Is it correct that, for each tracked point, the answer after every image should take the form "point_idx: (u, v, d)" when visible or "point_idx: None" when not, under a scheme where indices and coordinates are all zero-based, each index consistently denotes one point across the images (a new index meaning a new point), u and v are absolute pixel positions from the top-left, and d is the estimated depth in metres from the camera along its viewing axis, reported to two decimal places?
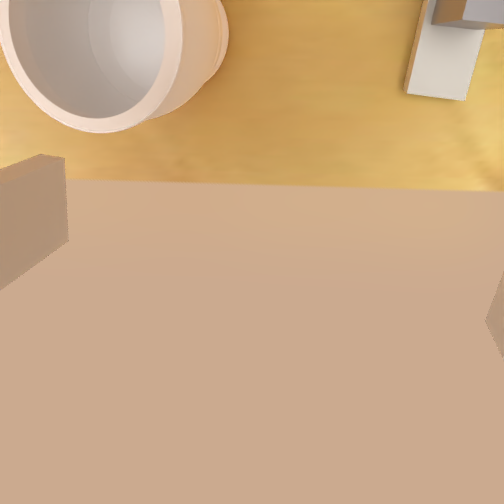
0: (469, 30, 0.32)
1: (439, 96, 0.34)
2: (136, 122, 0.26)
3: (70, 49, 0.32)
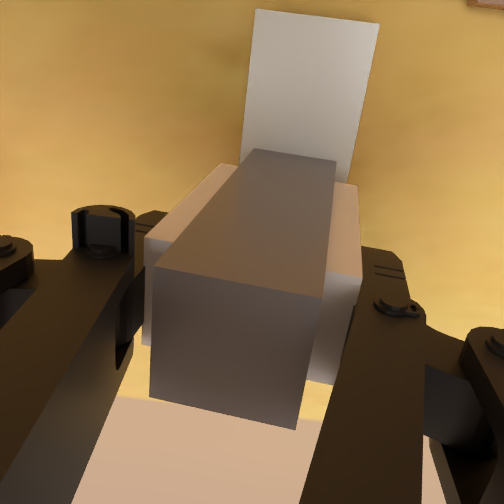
0: None
1: None
2: None
3: None
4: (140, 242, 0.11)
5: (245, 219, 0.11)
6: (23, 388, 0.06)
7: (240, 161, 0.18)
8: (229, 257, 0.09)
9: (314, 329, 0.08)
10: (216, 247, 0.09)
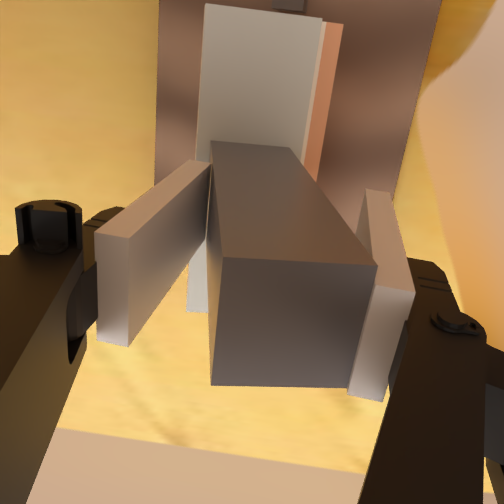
0: None
1: None
2: None
3: None
4: None
5: (261, 207, 0.12)
6: None
7: (197, 154, 0.18)
8: (278, 241, 0.10)
9: (369, 294, 0.10)
10: (260, 234, 0.10)
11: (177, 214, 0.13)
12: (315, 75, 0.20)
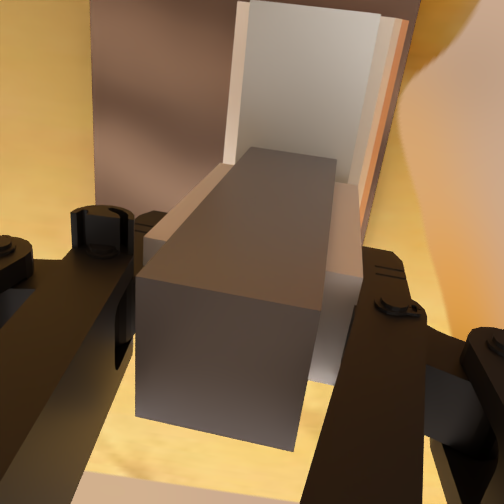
0: None
1: None
2: None
3: None
4: (139, 242, 0.11)
5: (238, 223, 0.10)
6: (22, 388, 0.06)
7: (236, 160, 0.17)
8: (219, 265, 0.08)
9: (312, 344, 0.08)
10: (205, 254, 0.09)
11: None
12: (387, 77, 0.18)
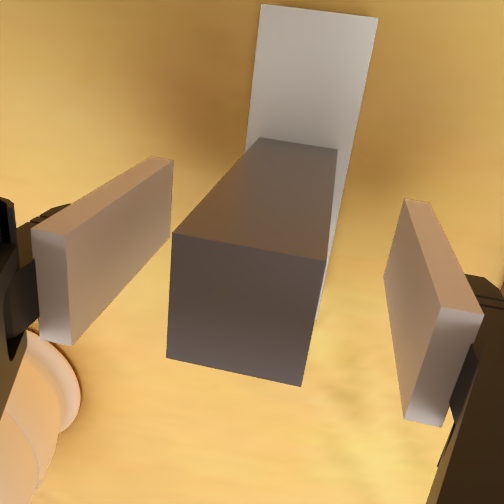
0: None
1: None
2: None
3: None
4: None
5: (254, 197, 0.12)
6: None
7: (246, 150, 0.19)
8: (240, 227, 0.10)
9: (319, 290, 0.09)
10: (228, 219, 0.10)
11: (130, 211, 0.13)
12: None
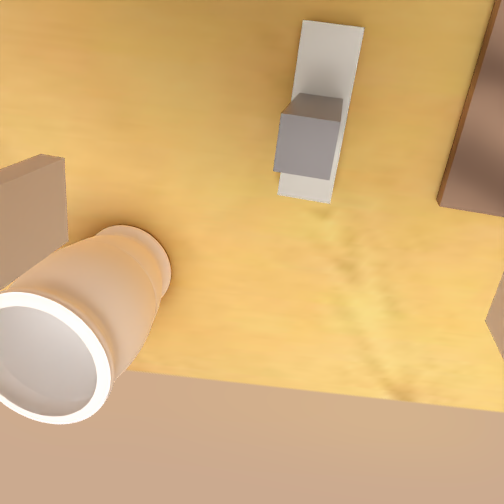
0: None
1: (306, 198, 0.36)
2: (78, 420, 0.33)
3: (32, 313, 0.39)
4: None
5: (306, 108, 0.27)
6: None
7: (291, 100, 0.33)
8: (305, 114, 0.25)
9: (337, 135, 0.24)
10: (299, 112, 0.25)
11: None
12: None
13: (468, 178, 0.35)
